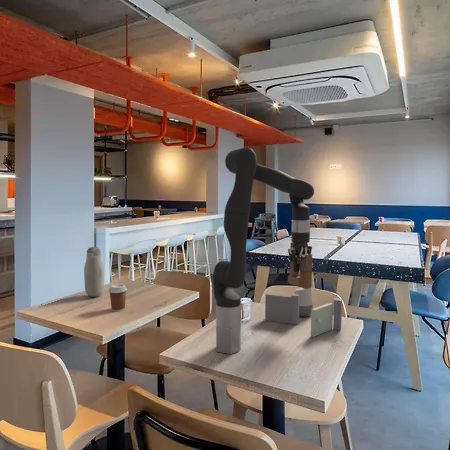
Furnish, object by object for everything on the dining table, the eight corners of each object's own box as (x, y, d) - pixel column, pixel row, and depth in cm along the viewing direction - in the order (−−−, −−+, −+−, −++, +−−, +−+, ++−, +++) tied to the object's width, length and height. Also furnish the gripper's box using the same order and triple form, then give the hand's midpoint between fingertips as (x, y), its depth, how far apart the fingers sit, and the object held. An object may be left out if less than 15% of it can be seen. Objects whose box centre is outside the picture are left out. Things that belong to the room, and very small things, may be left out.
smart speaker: (298, 310, 191) (299, 282, 190) (316, 314, 185) (316, 285, 184) (289, 315, 184) (289, 286, 183) (306, 319, 178) (307, 289, 177)
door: (335, 329, 165) (336, 304, 164) (317, 337, 156) (317, 311, 155) (329, 327, 167) (329, 302, 166) (310, 335, 158) (311, 309, 157)
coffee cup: (130, 306, 197) (129, 283, 196) (123, 312, 188) (123, 288, 187) (113, 306, 198) (112, 283, 197) (105, 311, 189) (105, 287, 188)
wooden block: (305, 289, 157) (306, 245, 155) (287, 283, 166) (288, 242, 164) (311, 288, 159) (312, 244, 157) (293, 282, 168) (294, 241, 166)
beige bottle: (81, 298, 213) (79, 247, 210) (93, 293, 223) (91, 245, 220) (97, 299, 210) (95, 248, 208) (107, 294, 220) (106, 246, 217)
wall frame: (340, 330, 164) (341, 300, 163) (264, 320, 177) (265, 292, 176) (341, 328, 167) (342, 298, 166) (266, 318, 180) (267, 291, 178)
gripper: (297, 232, 153) (296, 275, 154) (318, 230, 162) (317, 270, 164) (282, 231, 158) (282, 272, 160) (303, 228, 168) (302, 267, 169)
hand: (299, 271), depth 162 cm, fingers closed on wooden block, 4 cm apart
